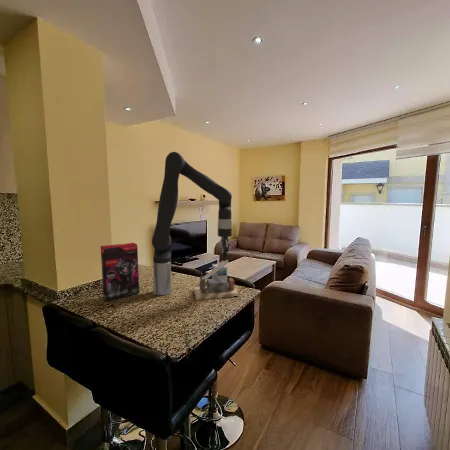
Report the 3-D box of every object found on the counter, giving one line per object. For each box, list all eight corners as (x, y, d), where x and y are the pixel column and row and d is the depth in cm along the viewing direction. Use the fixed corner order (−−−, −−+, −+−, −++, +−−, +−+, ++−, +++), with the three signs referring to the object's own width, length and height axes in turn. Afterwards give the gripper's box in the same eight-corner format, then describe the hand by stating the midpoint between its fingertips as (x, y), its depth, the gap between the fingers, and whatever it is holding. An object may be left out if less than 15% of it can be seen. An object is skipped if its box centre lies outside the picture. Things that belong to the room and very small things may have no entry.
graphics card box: (105, 302, 123) (104, 247, 120) (101, 298, 128) (99, 245, 125) (139, 294, 134) (138, 243, 132) (134, 290, 139) (133, 242, 137)
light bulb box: (227, 284, 151) (227, 267, 150) (217, 285, 149) (217, 268, 148) (221, 279, 161) (221, 263, 160) (211, 280, 159) (211, 264, 158)
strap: (202, 283, 132) (199, 280, 132) (201, 281, 136) (199, 278, 135) (229, 262, 135) (227, 259, 134) (227, 261, 138) (225, 258, 138)
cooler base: (196, 299, 127) (196, 282, 126) (193, 290, 140) (193, 274, 140) (238, 296, 132) (238, 279, 131) (231, 287, 145) (231, 272, 145)
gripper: (215, 226, 140) (215, 256, 141) (220, 228, 127) (220, 262, 128) (228, 226, 141) (228, 256, 143) (234, 228, 129) (234, 261, 130)
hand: (224, 259), depth 136 cm, fingers closed
